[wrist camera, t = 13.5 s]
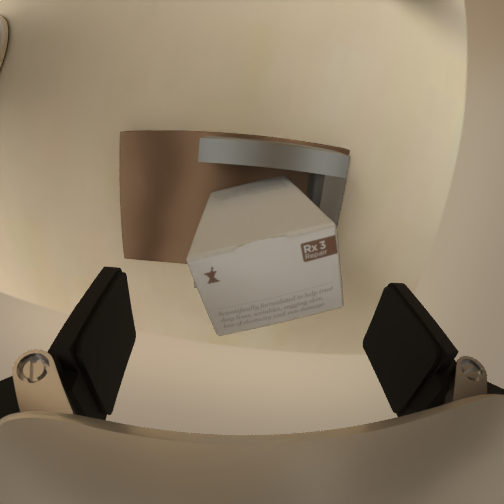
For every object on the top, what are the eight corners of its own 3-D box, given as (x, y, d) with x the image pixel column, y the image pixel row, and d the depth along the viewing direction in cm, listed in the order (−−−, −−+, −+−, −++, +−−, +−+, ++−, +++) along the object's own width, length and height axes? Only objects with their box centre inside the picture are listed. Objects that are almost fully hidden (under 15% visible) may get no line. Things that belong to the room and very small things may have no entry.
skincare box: (224, 240, 23) (213, 345, 12) (208, 188, 21) (177, 261, 11) (298, 222, 23) (346, 316, 12) (287, 169, 21) (338, 223, 10)
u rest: (129, 251, 25) (107, 281, 20) (127, 131, 20) (97, 135, 15) (320, 265, 26) (337, 298, 22) (343, 148, 22) (370, 156, 17)
